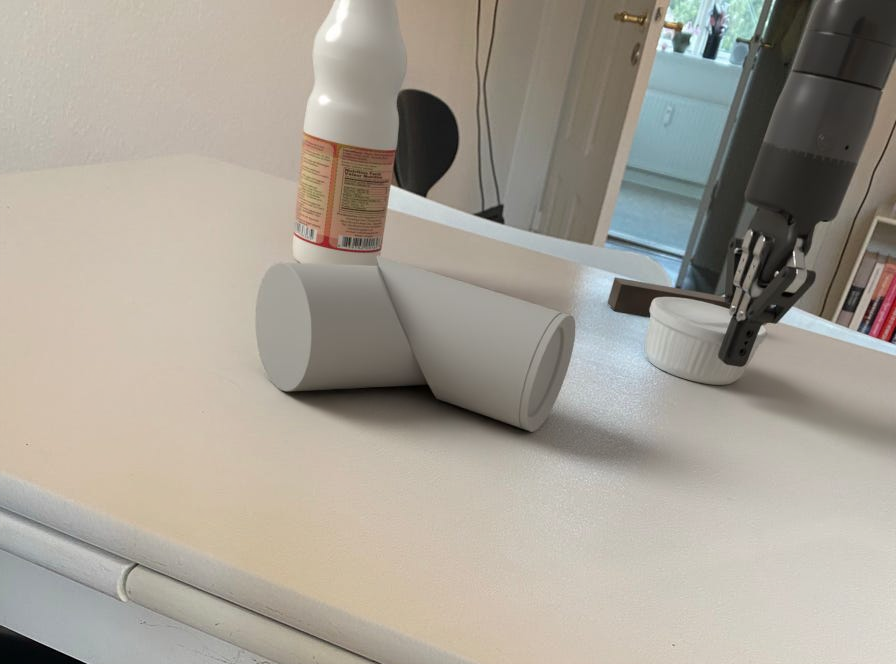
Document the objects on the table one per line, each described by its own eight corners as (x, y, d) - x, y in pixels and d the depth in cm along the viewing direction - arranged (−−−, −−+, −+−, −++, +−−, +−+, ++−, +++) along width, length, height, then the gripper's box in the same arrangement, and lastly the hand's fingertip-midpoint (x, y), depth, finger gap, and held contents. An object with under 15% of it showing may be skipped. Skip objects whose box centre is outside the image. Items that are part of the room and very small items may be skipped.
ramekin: (736, 399, 83) (758, 342, 80) (621, 363, 86) (638, 306, 83) (755, 374, 92) (776, 321, 89) (650, 341, 95) (667, 290, 92)
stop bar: (732, 325, 109) (742, 299, 107) (742, 332, 106) (752, 306, 104) (606, 303, 106) (614, 277, 104) (613, 310, 103) (621, 283, 102)
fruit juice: (276, 260, 95) (305, -75, 79) (311, 247, 102) (344, -61, 87) (360, 283, 93) (406, -54, 78) (389, 268, 101) (437, -42, 85)
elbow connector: (452, 335, 79) (240, 337, 68) (495, 215, 72) (265, 197, 61) (569, 462, 70) (347, 488, 59) (631, 340, 63) (391, 345, 52)
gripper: (897, 168, 67) (800, 395, 76) (817, 146, 78) (740, 347, 87) (805, 148, 65) (718, 381, 75) (736, 129, 76) (668, 334, 86)
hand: (730, 362), depth 81 cm, fingers closed
